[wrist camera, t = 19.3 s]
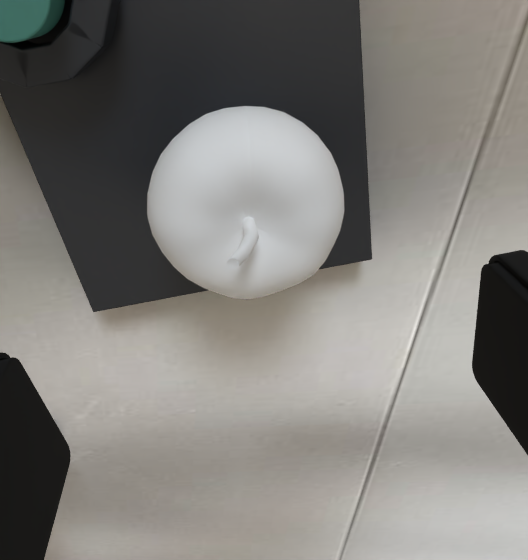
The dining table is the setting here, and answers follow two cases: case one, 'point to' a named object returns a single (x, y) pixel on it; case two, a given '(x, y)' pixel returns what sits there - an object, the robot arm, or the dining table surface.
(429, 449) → the dining table surface
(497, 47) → the dining table surface
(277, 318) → the dining table surface
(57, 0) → the button
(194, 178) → the plain white apple
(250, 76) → the scale
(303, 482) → the dining table surface
